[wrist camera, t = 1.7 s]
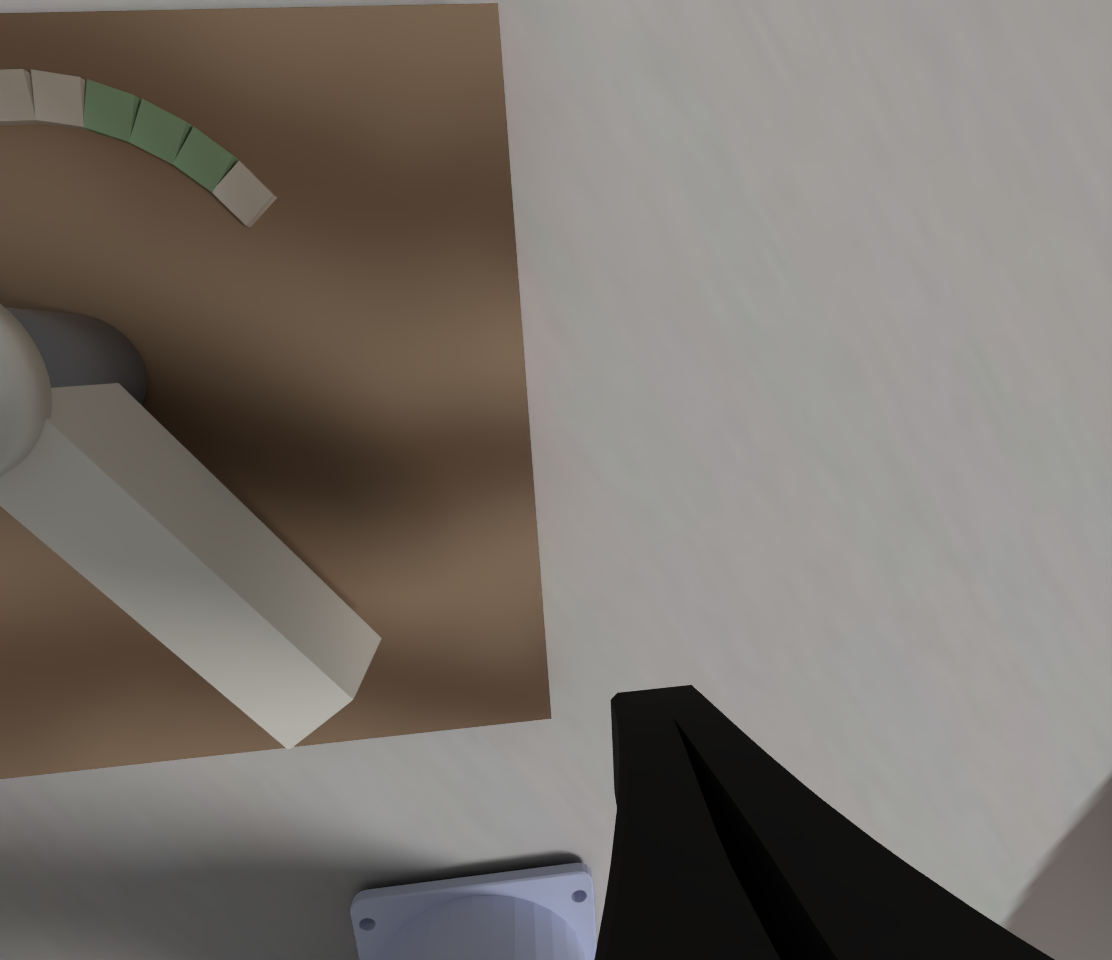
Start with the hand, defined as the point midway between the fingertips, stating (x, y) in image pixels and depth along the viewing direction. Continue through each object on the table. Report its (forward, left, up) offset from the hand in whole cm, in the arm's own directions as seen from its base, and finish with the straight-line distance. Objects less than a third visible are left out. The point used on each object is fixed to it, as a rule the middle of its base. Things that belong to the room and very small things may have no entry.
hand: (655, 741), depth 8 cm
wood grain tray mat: (+5, +12, -7) cm, 14 cm away
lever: (+5, +11, -6) cm, 13 cm away
